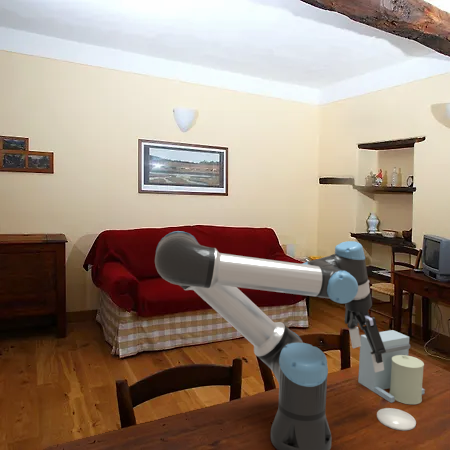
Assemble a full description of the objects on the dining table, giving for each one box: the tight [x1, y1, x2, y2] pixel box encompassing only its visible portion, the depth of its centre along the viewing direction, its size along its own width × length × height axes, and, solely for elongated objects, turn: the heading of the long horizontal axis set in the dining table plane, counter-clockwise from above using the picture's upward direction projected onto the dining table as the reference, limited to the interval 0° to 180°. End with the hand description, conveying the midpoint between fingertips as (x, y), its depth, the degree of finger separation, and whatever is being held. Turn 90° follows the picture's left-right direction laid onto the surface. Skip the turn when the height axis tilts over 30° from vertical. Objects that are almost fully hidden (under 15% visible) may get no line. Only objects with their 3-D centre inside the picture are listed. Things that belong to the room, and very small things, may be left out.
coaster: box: [376, 407, 417, 432], centre depth 114 cm, size 10×10×1 cm
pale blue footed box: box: [357, 329, 426, 403], centre depth 132 cm, size 14×14×16 cm
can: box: [388, 355, 425, 406], centre depth 126 cm, size 9×9×12 cm
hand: (367, 358), depth 123 cm, fingers open, 13 cm apart
